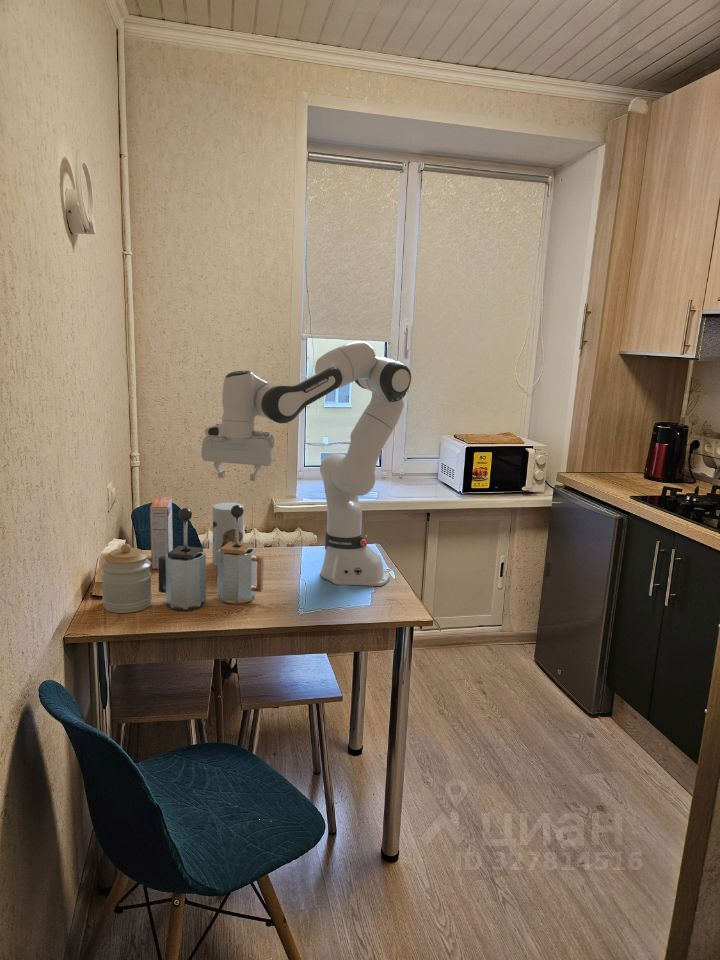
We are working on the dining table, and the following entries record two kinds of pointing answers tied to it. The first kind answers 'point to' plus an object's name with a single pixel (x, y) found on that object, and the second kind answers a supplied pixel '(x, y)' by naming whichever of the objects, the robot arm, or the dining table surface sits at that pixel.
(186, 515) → the black plunger
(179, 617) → the dining table surface
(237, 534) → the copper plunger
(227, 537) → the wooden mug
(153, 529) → the cracker box
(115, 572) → the jar
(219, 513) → the container
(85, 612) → the dining table surface
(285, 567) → the dining table surface
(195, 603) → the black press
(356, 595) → the dining table surface
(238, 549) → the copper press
